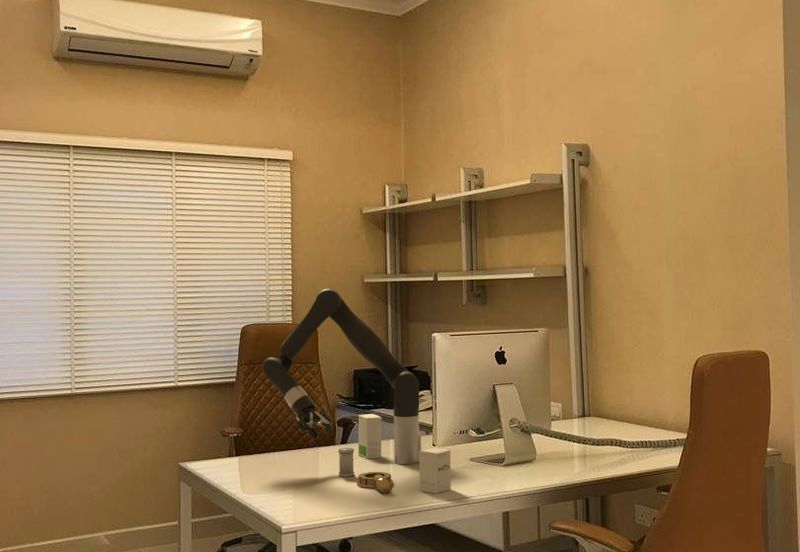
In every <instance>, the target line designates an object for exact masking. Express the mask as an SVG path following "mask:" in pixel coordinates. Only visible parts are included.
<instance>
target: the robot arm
mask: <svg viewBox="0 0 800 552" xmlns="http://www.w3.org/2000/svg"><path fill="white" fill-rule="evenodd" d="M328 318H330V319H331V320H332V321H333V322H334V323H335V324H337V326H338V327H339V328H340V329H341V331H342V332H343V334H344V336H345V337H346V339H347V340H348V341H349V343H350V344H351V345H352V346H353V348H355V350H356V351H357V352H358V354H360V355H361V356H362V358H364V360H366V361H367V362H368V363H370V364H371V365H372V366H373V367H374V368H376V369H377V370H378V371H379V372H380V373H381V374H382V375H383V376H384V378H385V379H386V381H388V383H389V384H390V385H391V387H392V389H393V401H394V402H393V436H394V437H393V438H394V441H393V444H394V446H393V447H394V451H393V452H394V463H396V464H399V465H400V464H401V465H411V464H412V465H413V464H419V451H422V442H421V441H422V437H421V435H420V427H419V426H420V423H419V422H420V418H419V414H420V413H419V412H420V410H419V409H420V383H419V380H418V378H417V377H416V376H415V375H414V374H413V372H411V371H409V370H408V369H407V368H406V367H404V366H403V365H402V364H401V363H400V361H398V360H397V359H396V358H395V357H394V356H393V355H392V353H391V352H390V350H389V348H388V347H387V345H386V344H385V343H384V341H383V340H382V339H381V338H380V337H379V336H378V334H376V332H374V330H373V329H372V328H371V327H369V325H367V323H366V322H364V321H363V320H362V319H361V318H360V317H359V316H357V315H356V314H355V313H354V312H353V311H352V310H351V308H350V307H349V306H348V305H347V303H346V302H345V300H343V298H342V296H341V295H340V293H339V292H338V291H337V290H335V289H334V288H324V289H322V290H320V291H319V293H317V295H316V297H315V300H314V302H313V304H312V305H311V307H310V309H309V310H308V312H307V313H306V315H305V316H304V317H303V319H302V320H301V321H300V322H299V324H298V325H296V327H294V329H293V330H292V331H291V332H290V334H288V336H287V337H286V339H285V340H284V341H283V342H282V344H281V345H280V347H279V351H280V353H279V355H278V356H277V358H276V357H273V356H272V357H268V358H266V359H264V361H263V362H262V372H263V374H264V375H265V377H266V378H267V379H268V380H269V381H270V382H271V383H272V384H273V385H274V386H275V387H276V388H277V389H278V390H279V392H280V393H281V395H282V396H283V398H284V399H285V401H286V403H287V404H288V406H289V407H290V408H291V411H293V413H294V414H295V415H296V416H295V418H294V420H295V423H296V424H297V425H298V427H299V428H300V430H301V431H302V432H305V431H306V433H308V434H309V435H310V436H311V437H312V439H313V440H318V438H319V436H320V434H319V433H318V432H317V430H316V428H314V426H313V425H317V426H319V427H323V428H324V430H325V431H326V433H327V434H328V436H329V437H331V436H333V435H334V434H335V430H334V429H333V427H332V426H331V423H332V419H331V418H330V416H329V415H328V414H327V413H326V411H324V409H320V410H319V411H318V410H317V409H316V404H315V403H314V401H313V399H312V398H311V397H310V395H309V394H308V393H307V392H306V390H305V389H304V388H303V387H302V386H301V384H299V382H298V381H297V379H296V378H294V376H292V375H290V374H289V371H290V370H291V367H292V366H293V364H294V362H295V360H296V358H297V356H299V354H300V353H301V352H302V350H303V349H304V347H306V345H307V344H308V342H309V341H310V340H311V338H312V337H313V335H314V334H315V332H316V331H317V330H318V328H319V327H320V326H321V325H322V324H323V323H324V322H325V321H326V320H327V319H328Z"/></svg>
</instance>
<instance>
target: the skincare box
mask: <svg viewBox="0 0 800 552" xmlns="http://www.w3.org/2000/svg"><path fill="white" fill-rule="evenodd" d="M382 419H383V418H382V416H379V415H378V414H374V413H369V414H358V448H357V449H358V455H359V456H361V457H363V458H365V459H374V458H373V457H376V458H382Z"/></svg>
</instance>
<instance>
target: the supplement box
mask: <svg viewBox="0 0 800 552" xmlns="http://www.w3.org/2000/svg"><path fill="white" fill-rule="evenodd" d="M418 464H419V467H418V468H419V491H422V492H425V493H432V494H436V493H437V494H439V493H441V492H445V491H450V490H452V489H451V487H452V486H451V485H452V482H451V479H452V477H451V471H452V469H451V450H450V449H444V448H437V447H431V448H427V449H424V450H421V451H419V462H418Z"/></svg>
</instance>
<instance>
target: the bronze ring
mask: <svg viewBox="0 0 800 552" xmlns="http://www.w3.org/2000/svg"><path fill="white" fill-rule="evenodd" d="M393 484H394V480H393V479H392V474H391V473H389V472H385V471H384V472H382V471H370V472H369V471H368V472H363V473H360V474H359V475H358V476H357V481H356V486H357V487H359V488H364V489H377V490H378V491H380V492H381V494H383V495H387V494H390V493H391V492H392V491H393Z"/></svg>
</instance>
